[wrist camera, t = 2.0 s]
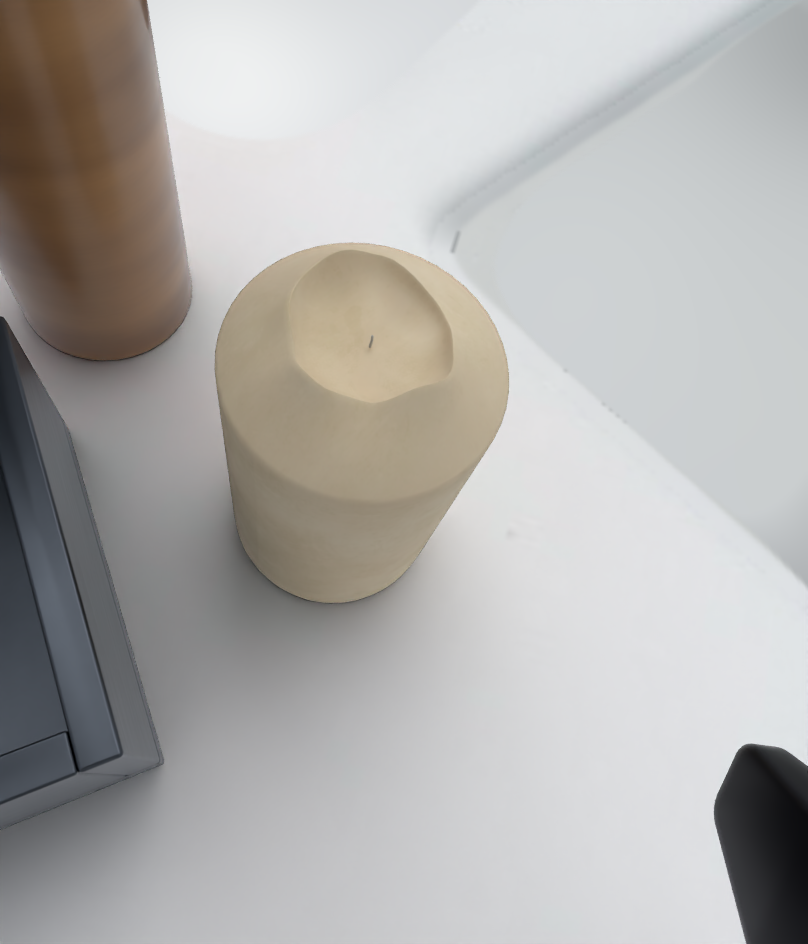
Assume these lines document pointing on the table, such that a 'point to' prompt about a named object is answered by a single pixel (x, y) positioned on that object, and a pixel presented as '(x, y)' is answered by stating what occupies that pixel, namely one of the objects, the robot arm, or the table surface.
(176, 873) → the table surface
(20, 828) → the table surface
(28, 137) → the tall beige cylinder
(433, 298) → the candle
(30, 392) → the open box
